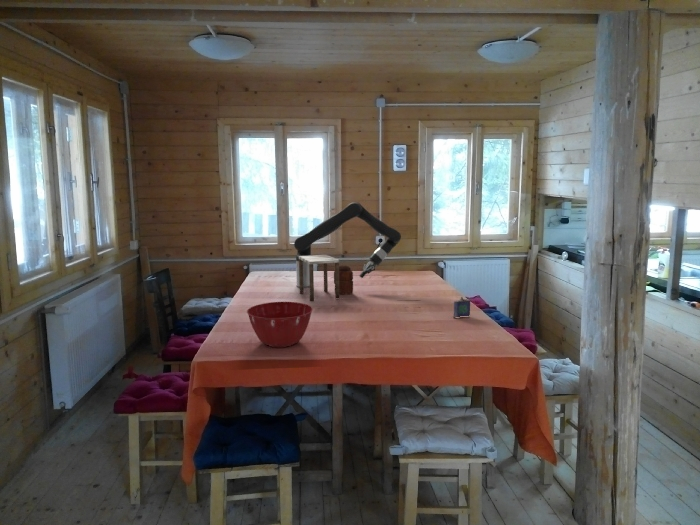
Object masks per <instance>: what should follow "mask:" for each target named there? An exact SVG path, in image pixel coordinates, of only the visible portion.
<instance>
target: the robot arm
mask: <svg viewBox="0 0 700 525" xmlns="http://www.w3.org/2000/svg"><path fill="white" fill-rule="evenodd" d="M354 218H359V219H360V220H362V221H364V223H366V224H368V226H369V227H371V228H372V229H373V230H374V231H376V232H377V233H378V234H380V235H381V236H385V237H386V238H387V239H386V240H385V241H384V242H382V244H381V245H380V246H379V247H378V248H377V249H376V250H375V251H374V252H373V253H372V254H371V256H369V261H368V262H367V263H364V265H363V266H362V272H361V273H360V274H359V278H361V279H363V278H364V277H365V276H366V275H367V274H368V275H369V274H371V273H372V272H373V271H375V270H376V268H375V267H376V266H377V267H378V266H379V265H380V264H382V262H383V261H384V260H385V259H386V257H387V256H388V255H389V254H390V252H391V251H392V250H393V249H394V247H396V246H397V244H398V243H399V242H400V241H401V238H402V235H401V233H400V232H399V231H398V230H397V229H395V228H393V227H391V226H389V225H387V224H386V223H385V222H383V221H382V220H380V219H379V218H377V217H376V216H375V215H373V214H371V213H370V212H369V211H368V210H367V209H366V208H365V207H364V206H363V205H362V204H361V203H360V202H357V201H355V202H350V203H349V204H348V205H347V206H346V207H344V208H343V209H342V210H340V211H339V212H337V213H336V214H334V215H332V216H330V217H328V218H326V219H325V220H323V221H321V223H319V224H318V225H316V226H315V227H313V228H312V229H311V230H310V231H308V232H307V233H305V234H303V235H301V236H299V237H297V238H296V239H295V240H294V241H293V242H294V243H293V246H294V248H295V250H297V253H296V256H295V263H296V266H295V269H296V271H295V273H296V286H297V287H299V288H300V285H299V256H312V252H311V251H312V244H314V243H315V242H317V241H320V240H321V239H323V238H325V237H328V236H329V235H331V234H332V233H334V232H335V231H337V230H338V229H339V228H340V227H341V226H343V224H344V223H346V222H348V221H350V220H352V219H354ZM307 287H310V281H309V264H308V263H306V262H304V261H303V288H307Z"/></svg>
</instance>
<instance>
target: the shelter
mask: <svg viewBox="0 0 700 525" xmlns="http://www.w3.org/2000/svg"><path fill="white" fill-rule="evenodd" d="M303 261H304V262H306V263H308V264H309V281H310V286H309V302H315V293H314V292H315V291H314V288H315V287H314V286H315V285H314V280H315V279H314V265H319V264H323V292H324V291H328V290H329V289H328V288H329V287H328V283H329V281H328V264H334V271H335V284H334V295H335V296H334V298H335V299H336V298H339V299H340V294H339V266H340V259H338V258H335V257H333V256H331V255H328V254H317V255H316V254H314V255H312V254H311V256H299V285H300V287H299V294H300V295H303V293H304V294H305V292H304V287H303ZM328 292H329V291H328Z"/></svg>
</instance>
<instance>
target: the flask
mask: <svg viewBox="0 0 700 525" xmlns="http://www.w3.org/2000/svg"><path fill="white" fill-rule="evenodd" d="M469 315H470V316H471V300H470V299H467V298H464V296H460V299H459V300H454V301H453V318H454V317H460V316H469Z"/></svg>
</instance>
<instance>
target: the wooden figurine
mask: <svg viewBox="0 0 700 525" xmlns="http://www.w3.org/2000/svg"><path fill="white" fill-rule="evenodd" d="M333 282H334V285H335V270H334V272H333ZM353 294H354V272H353V271H352V270H351V267H350V266H349V265H347V264H342V265H339V295H353Z"/></svg>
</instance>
